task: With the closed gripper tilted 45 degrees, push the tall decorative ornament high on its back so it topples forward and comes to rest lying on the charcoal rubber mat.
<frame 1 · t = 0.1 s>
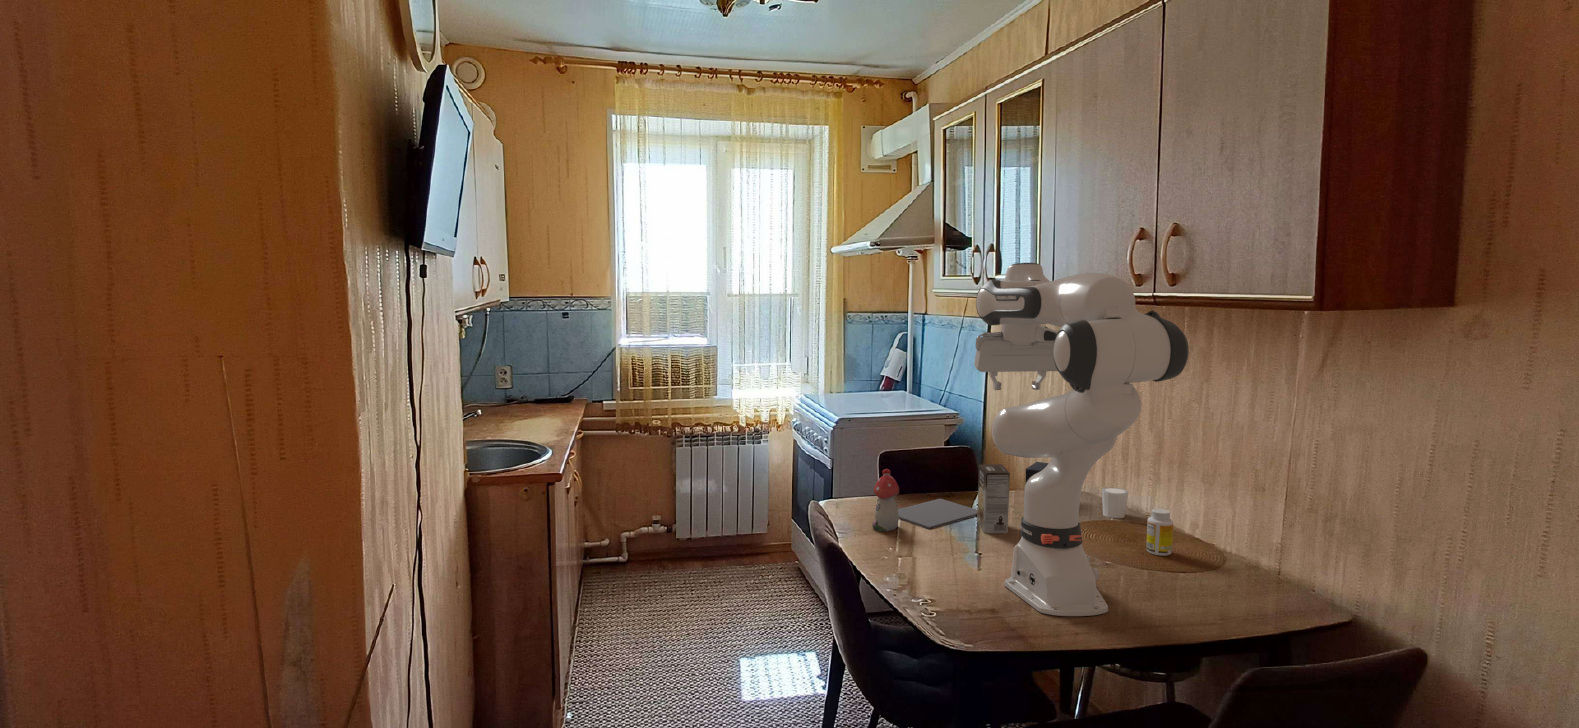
hand: (1016, 389, 182), 39 cm above the table, tool pointing down, fingers open, 8 cm apart
supplement bottle: (1158, 553, 183), on the table
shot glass: (1113, 515, 212), on the table
coffee box: (992, 528, 202), on the table
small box: (1040, 501, 226), on the table
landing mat: (934, 514, 213), on the table
decorative ornament: (885, 528, 202), on the table
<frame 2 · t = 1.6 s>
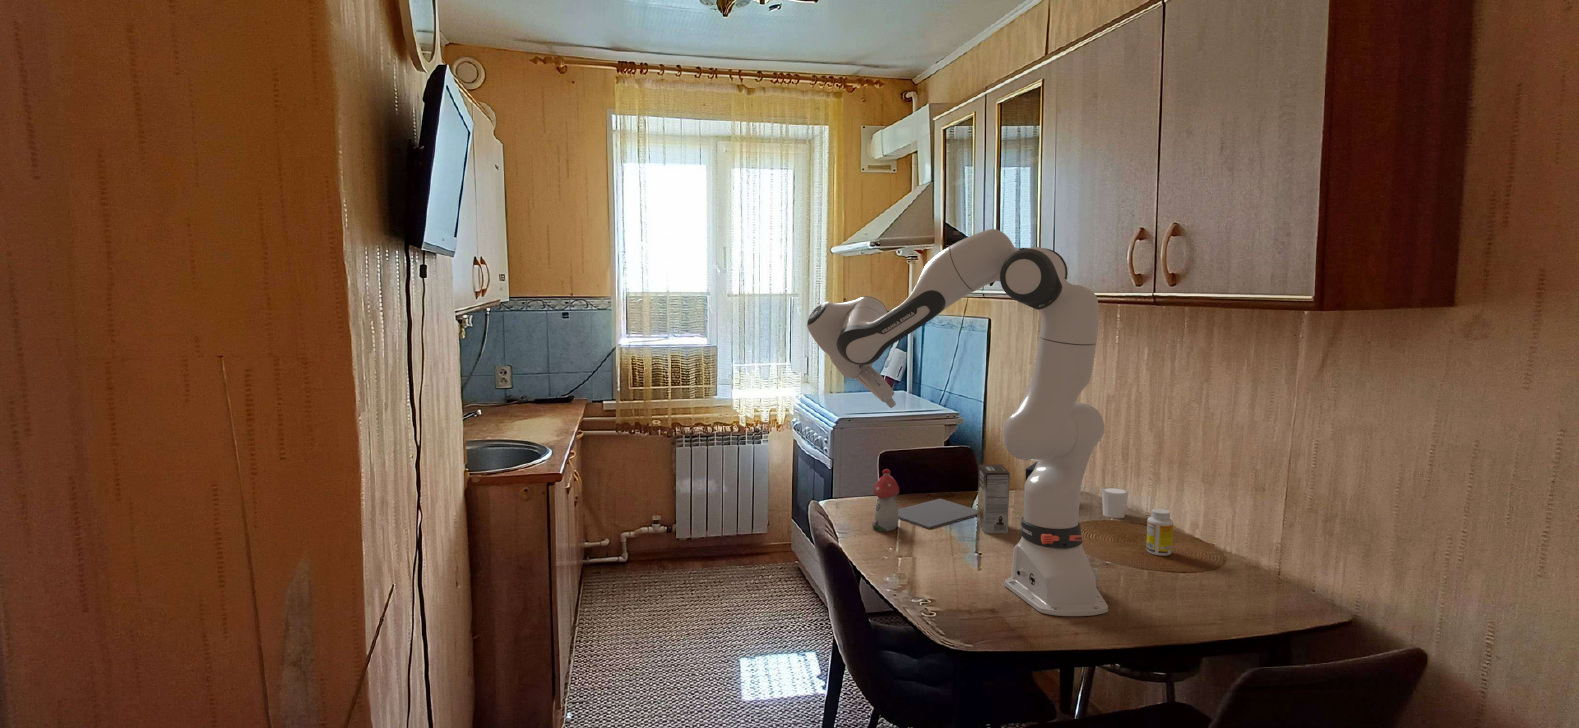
hand: (885, 399, 191), 35 cm above the table, tool tilted 40°, fingers open, 8 cm apart
nothing on the table moved.
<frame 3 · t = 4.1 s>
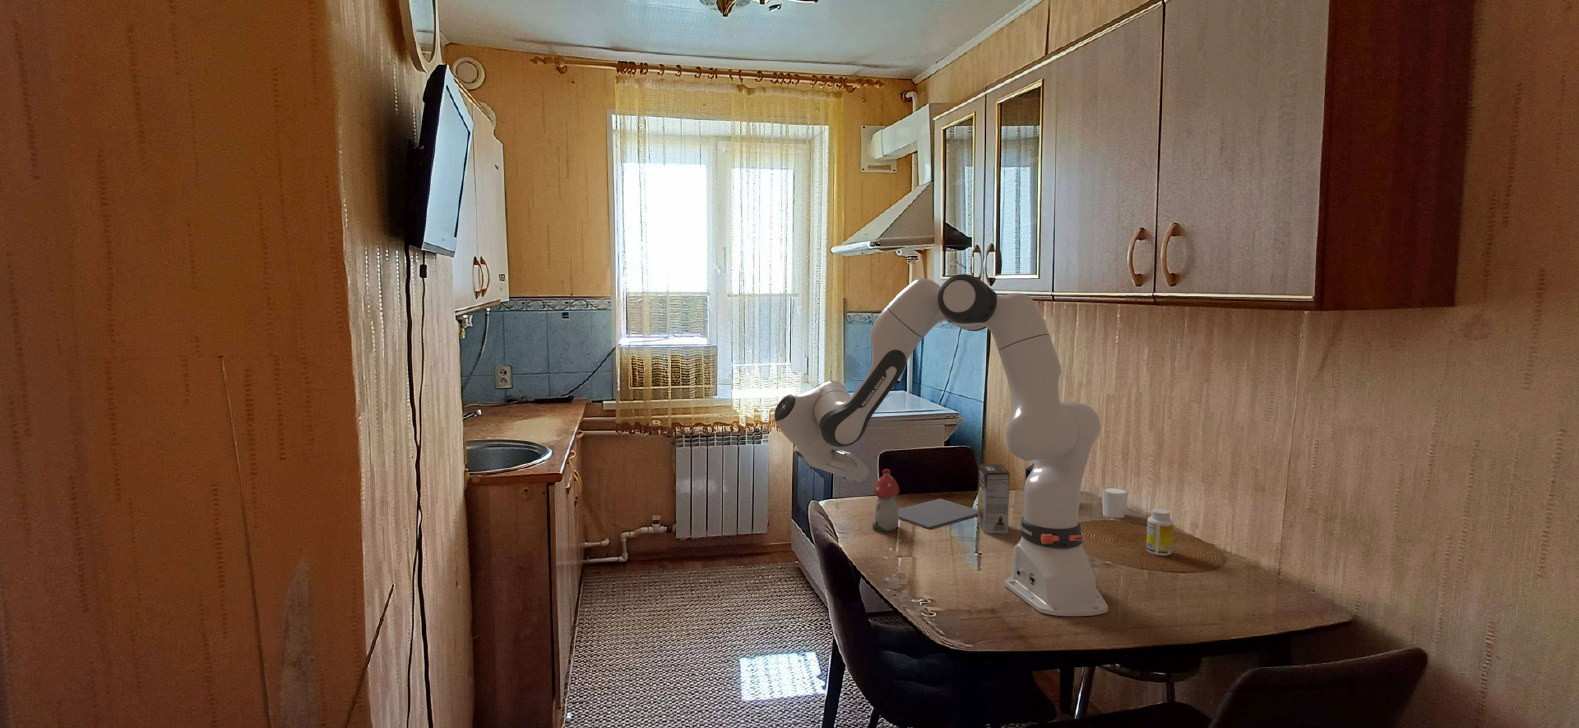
hand: (850, 480, 193), 15 cm above the table, tool tilted 45°, fingers closed
nothing on the table moved.
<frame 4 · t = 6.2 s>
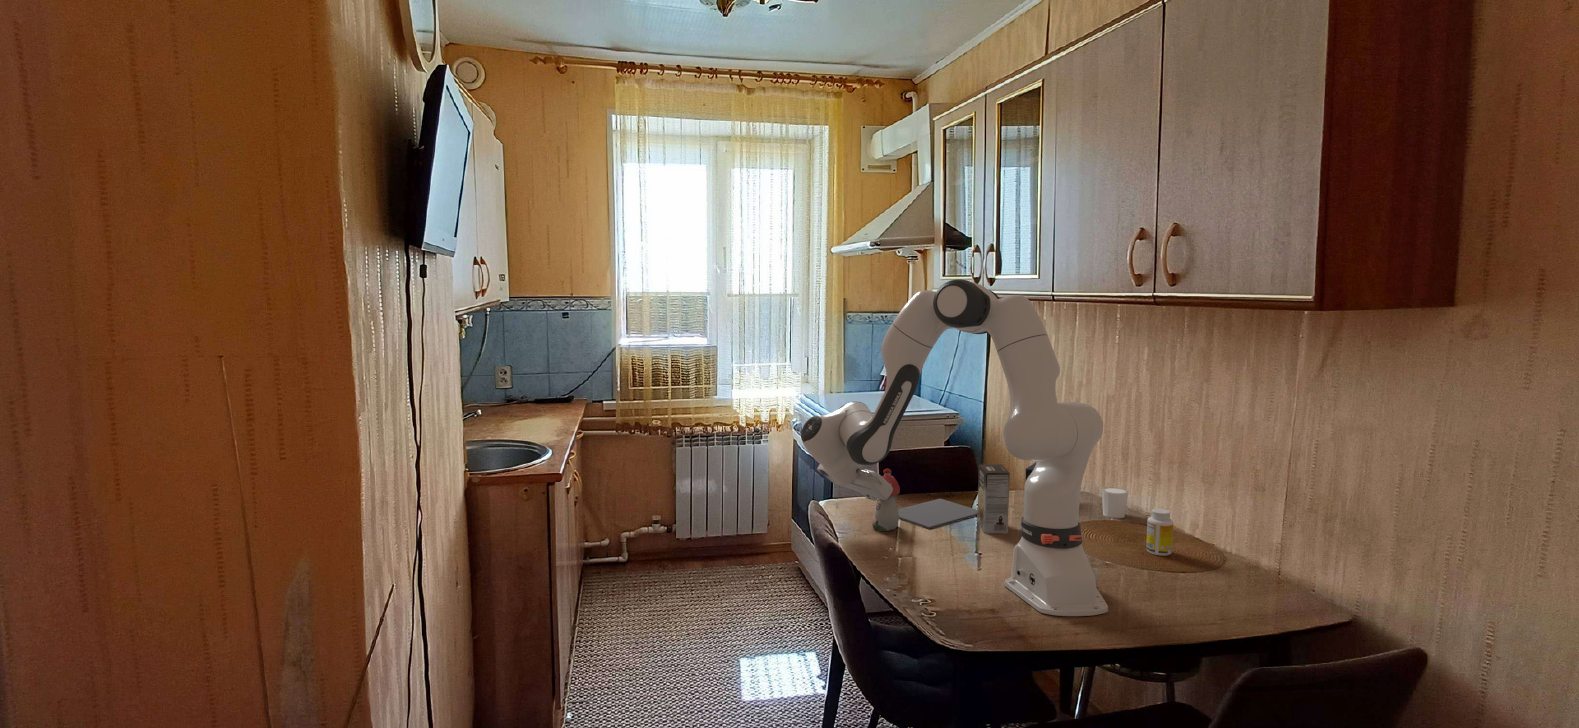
hand: (873, 497, 198), 9 cm above the table, tool tilted 45°, fingers closed
decorative ornament: (885, 527, 202), on the table, touching gripper
everything else where it was.
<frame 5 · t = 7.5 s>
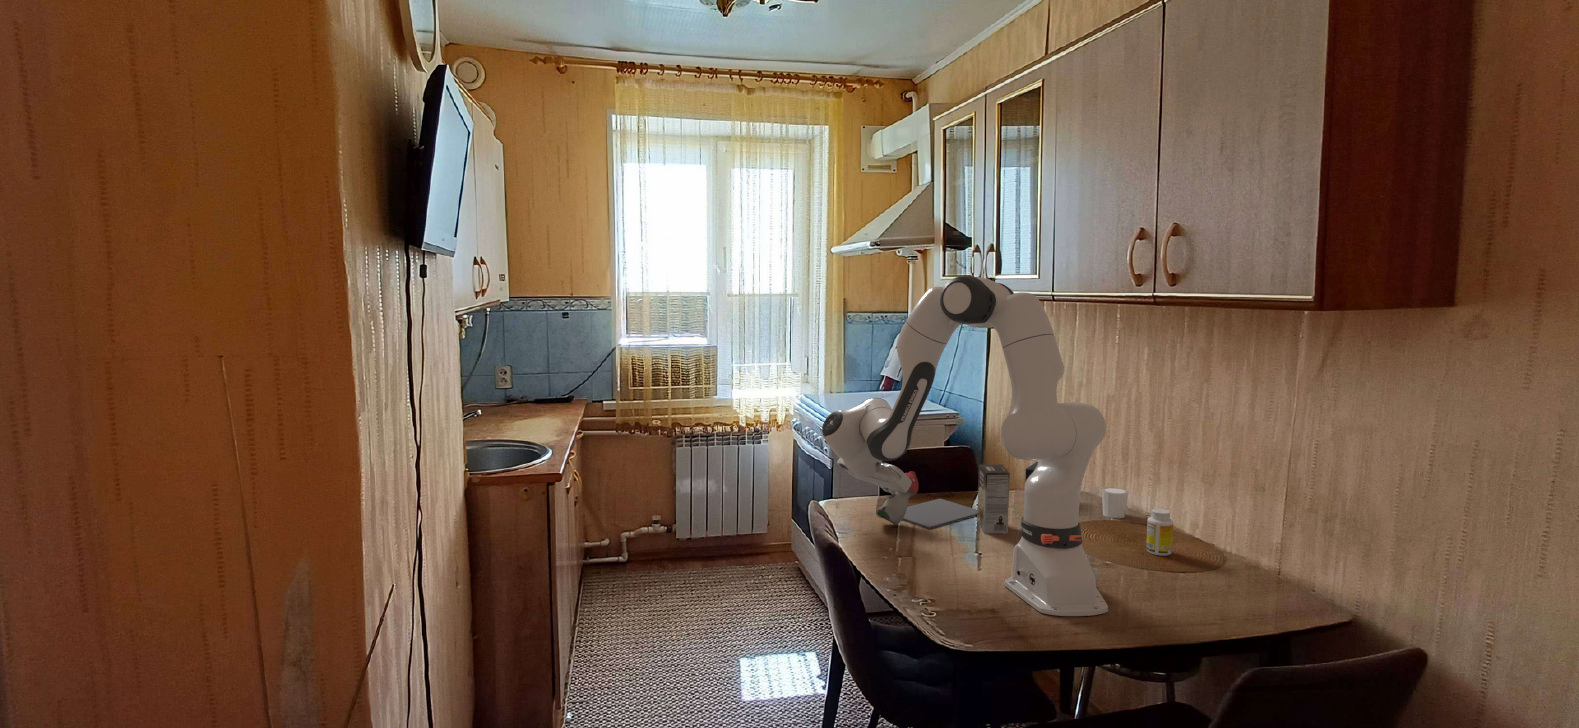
hand: (891, 490, 203), 9 cm above the table, tool tilted 45°, fingers closed
decorative ornament: (886, 520, 202), point 2 cm above the table, touching gripper
everything else where it was.
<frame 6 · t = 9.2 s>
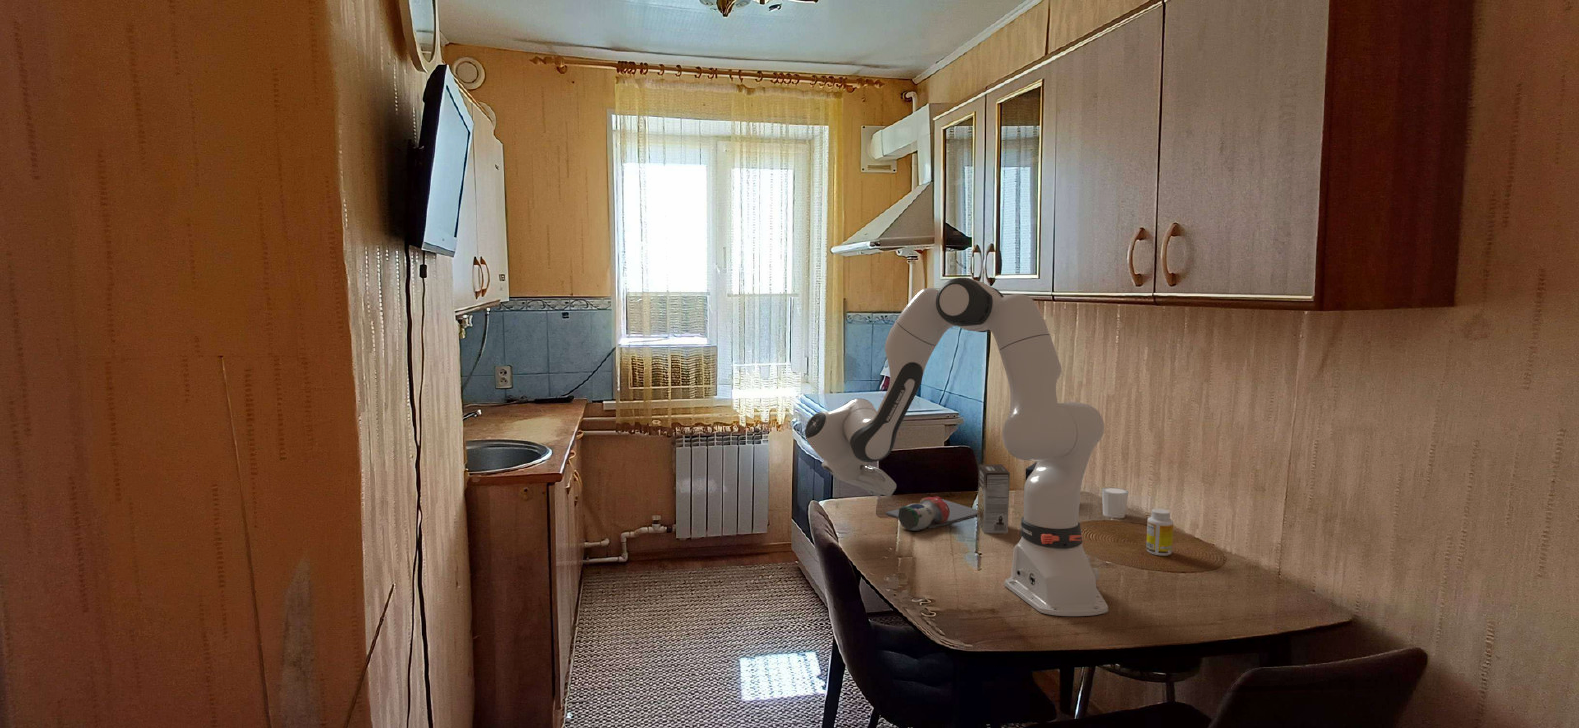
hand: (877, 493, 199), 9 cm above the table, tool tilted 45°, fingers closed
decorative ornament: (905, 518, 199), point 3 cm above the table, touching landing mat
everything else where it was.
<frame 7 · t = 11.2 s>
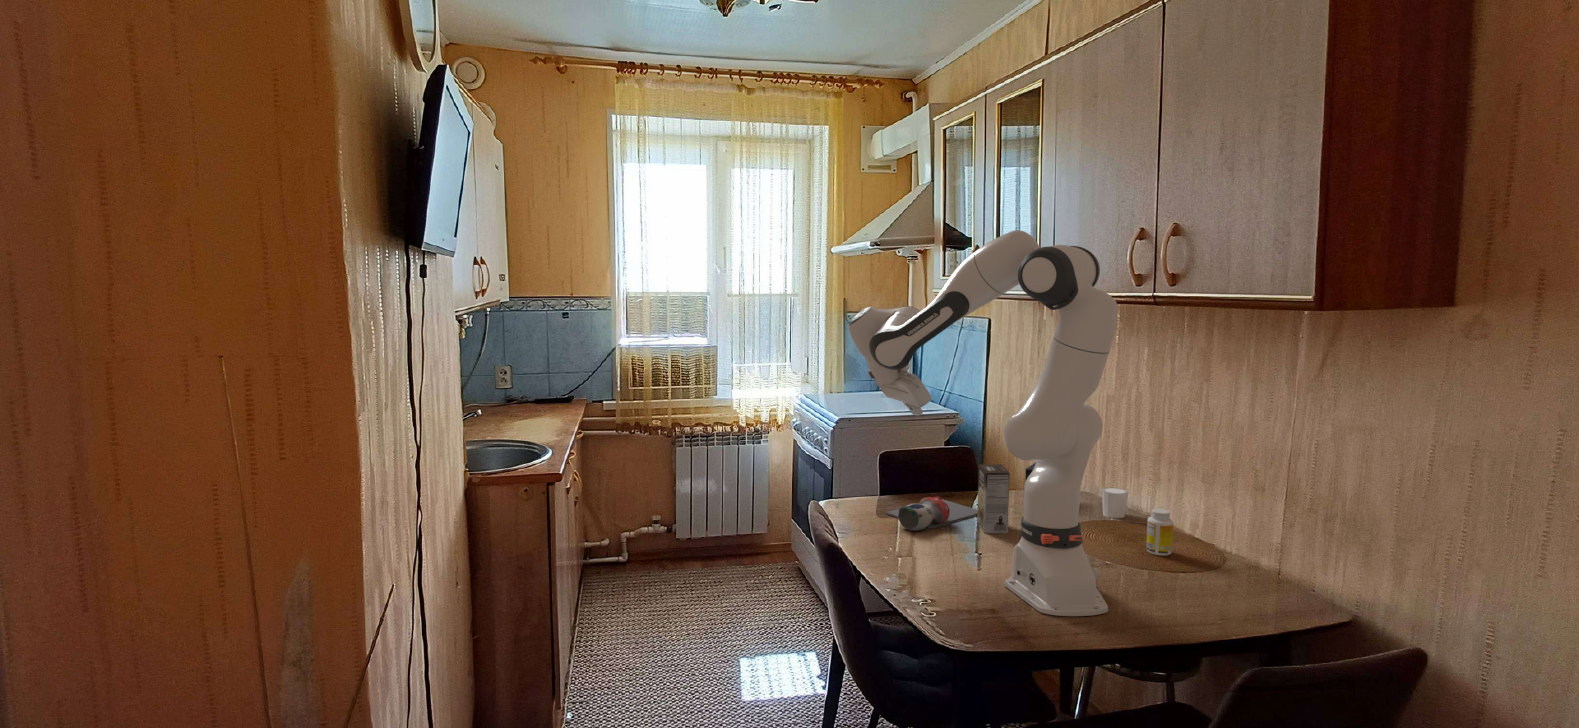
hand: (918, 413, 192), 32 cm above the table, tool tilted 35°, fingers closed
nothing on the table moved.
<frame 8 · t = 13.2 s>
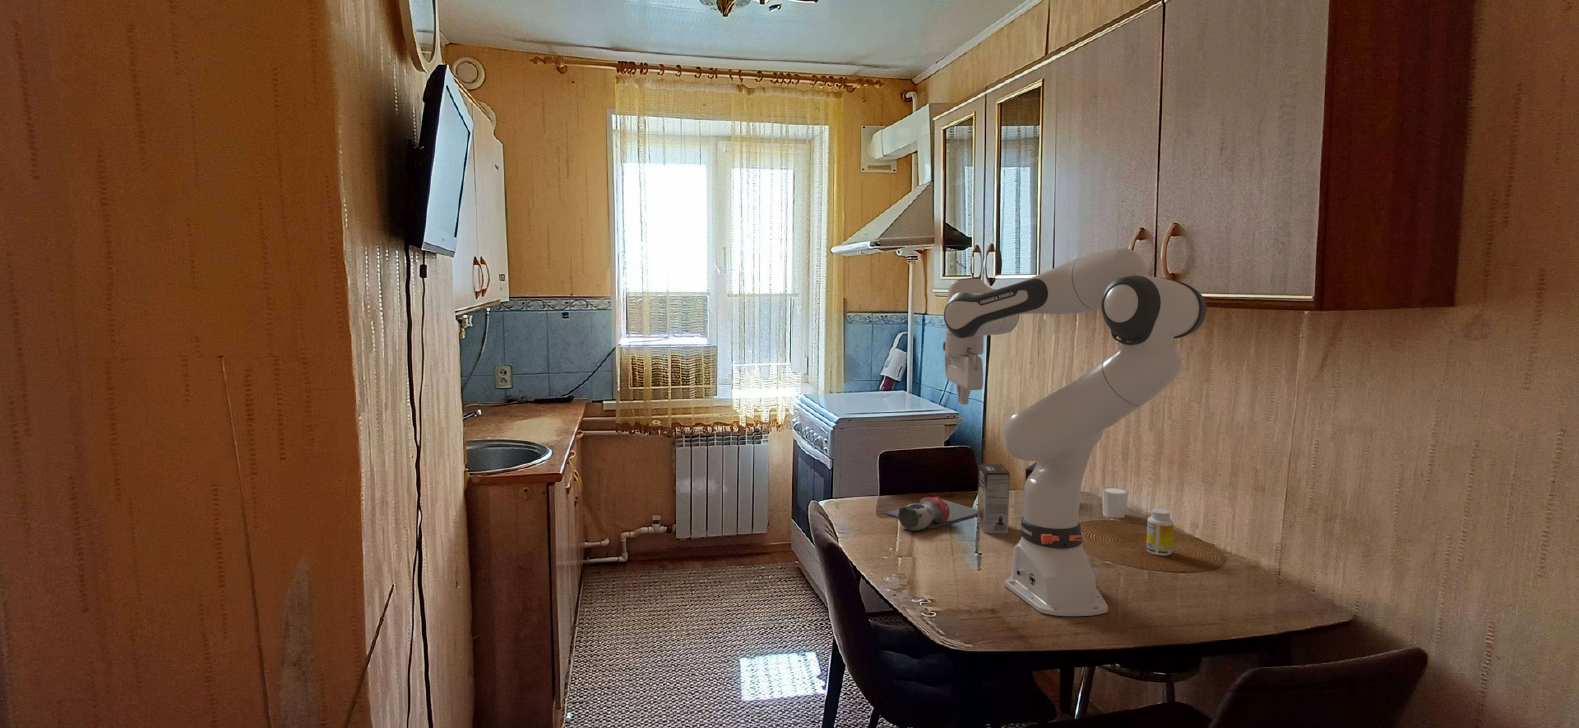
hand: (963, 403, 185), 35 cm above the table, tool pointing down, fingers closed
nothing on the table moved.
at the end: decorative ornament tilted 86°; decorative ornament touching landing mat, table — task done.
